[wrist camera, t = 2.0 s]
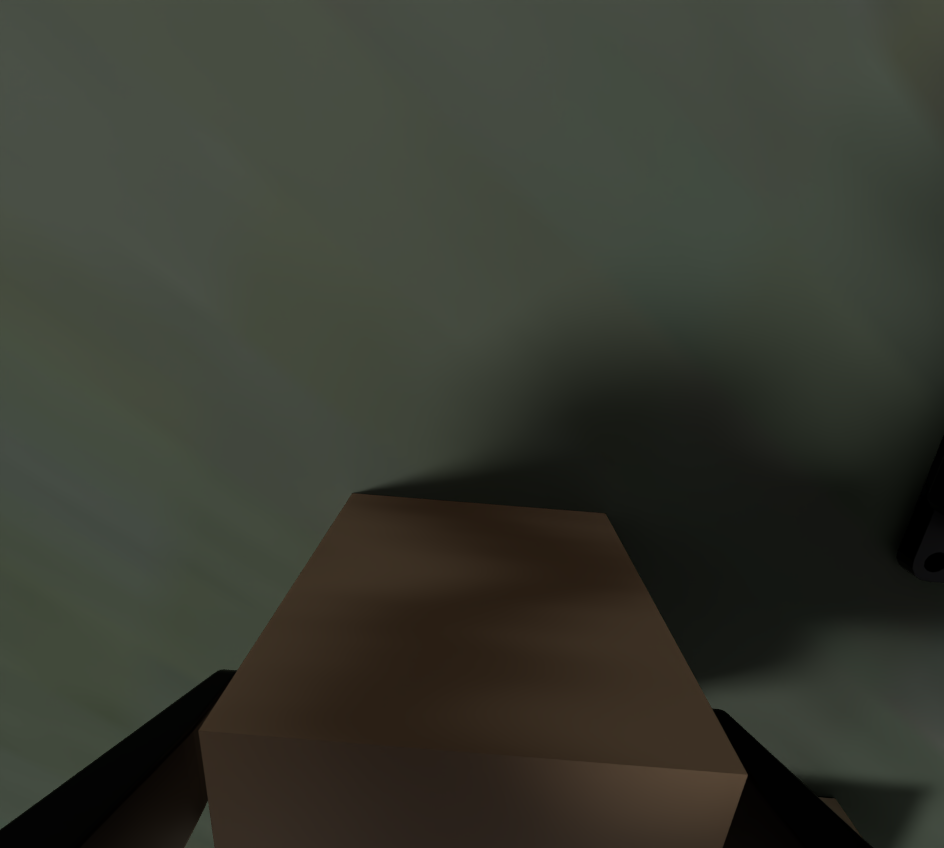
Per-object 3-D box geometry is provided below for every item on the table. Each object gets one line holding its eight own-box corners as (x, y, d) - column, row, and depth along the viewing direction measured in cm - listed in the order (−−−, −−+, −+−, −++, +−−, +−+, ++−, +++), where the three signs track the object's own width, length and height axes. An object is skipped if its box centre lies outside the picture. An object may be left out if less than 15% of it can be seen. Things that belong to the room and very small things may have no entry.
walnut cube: (604, 511, 11) (747, 774, 5) (569, 706, 12) (645, 1070, 7) (353, 491, 11) (198, 729, 5) (354, 688, 12) (240, 1036, 7)
